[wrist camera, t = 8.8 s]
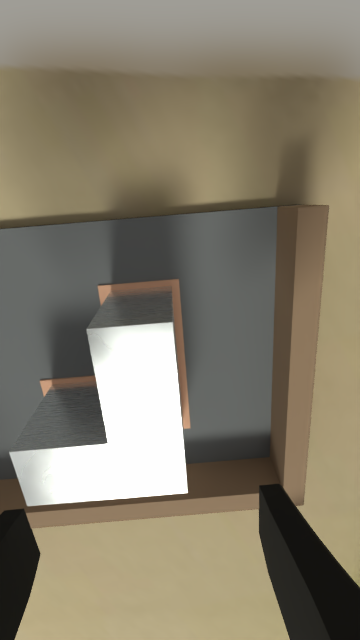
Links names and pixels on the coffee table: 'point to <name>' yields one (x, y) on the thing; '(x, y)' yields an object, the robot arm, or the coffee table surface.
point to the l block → (112, 412)
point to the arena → (191, 338)
